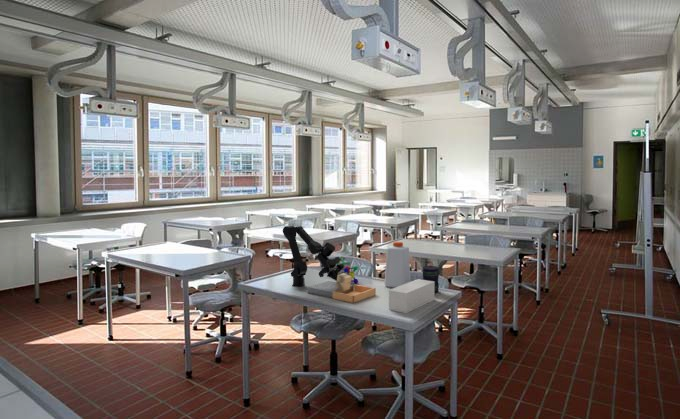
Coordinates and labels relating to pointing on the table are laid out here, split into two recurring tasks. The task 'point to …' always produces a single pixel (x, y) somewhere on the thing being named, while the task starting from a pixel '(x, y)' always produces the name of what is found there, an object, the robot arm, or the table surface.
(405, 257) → the plastic bottle
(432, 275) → the storage jar
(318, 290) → the slate plate
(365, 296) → the box
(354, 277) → the molecular model
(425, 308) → the table surface
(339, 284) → the beech block
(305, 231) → the robot arm
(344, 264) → the chalk box
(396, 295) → the long white block
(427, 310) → the table surface
